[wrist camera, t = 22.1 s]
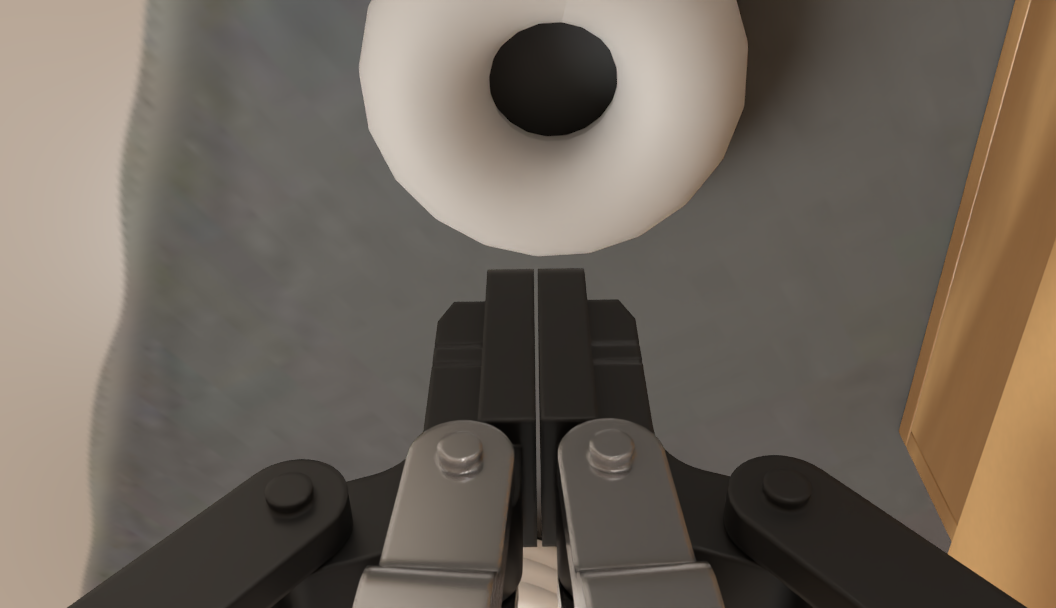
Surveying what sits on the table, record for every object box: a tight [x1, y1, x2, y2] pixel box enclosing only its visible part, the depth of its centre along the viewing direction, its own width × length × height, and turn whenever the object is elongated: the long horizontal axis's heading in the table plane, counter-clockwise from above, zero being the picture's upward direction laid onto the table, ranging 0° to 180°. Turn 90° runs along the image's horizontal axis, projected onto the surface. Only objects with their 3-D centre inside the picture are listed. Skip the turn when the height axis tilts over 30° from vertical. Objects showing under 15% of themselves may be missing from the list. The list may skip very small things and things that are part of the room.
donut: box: [359, 0, 748, 256], centre depth 25 cm, size 10×4×10 cm
